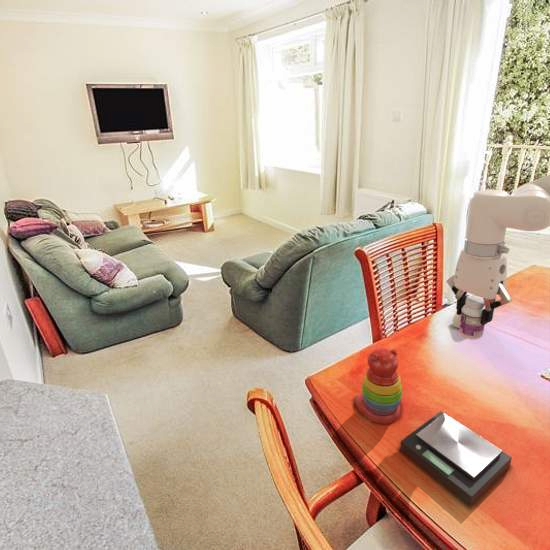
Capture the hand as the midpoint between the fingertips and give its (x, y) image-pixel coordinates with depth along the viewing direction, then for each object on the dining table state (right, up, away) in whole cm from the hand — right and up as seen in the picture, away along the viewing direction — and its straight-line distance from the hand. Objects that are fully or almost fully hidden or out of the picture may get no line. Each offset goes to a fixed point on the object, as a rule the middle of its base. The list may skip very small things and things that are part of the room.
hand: (473, 317), depth 90 cm
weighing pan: (-9, -26, -12) cm, 30 cm away
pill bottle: (0, -5, +2) cm, 5 cm away
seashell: (+16, -6, +35) cm, 39 cm away
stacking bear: (-21, -24, +4) cm, 32 cm away
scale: (-10, -29, -11) cm, 32 cm away
